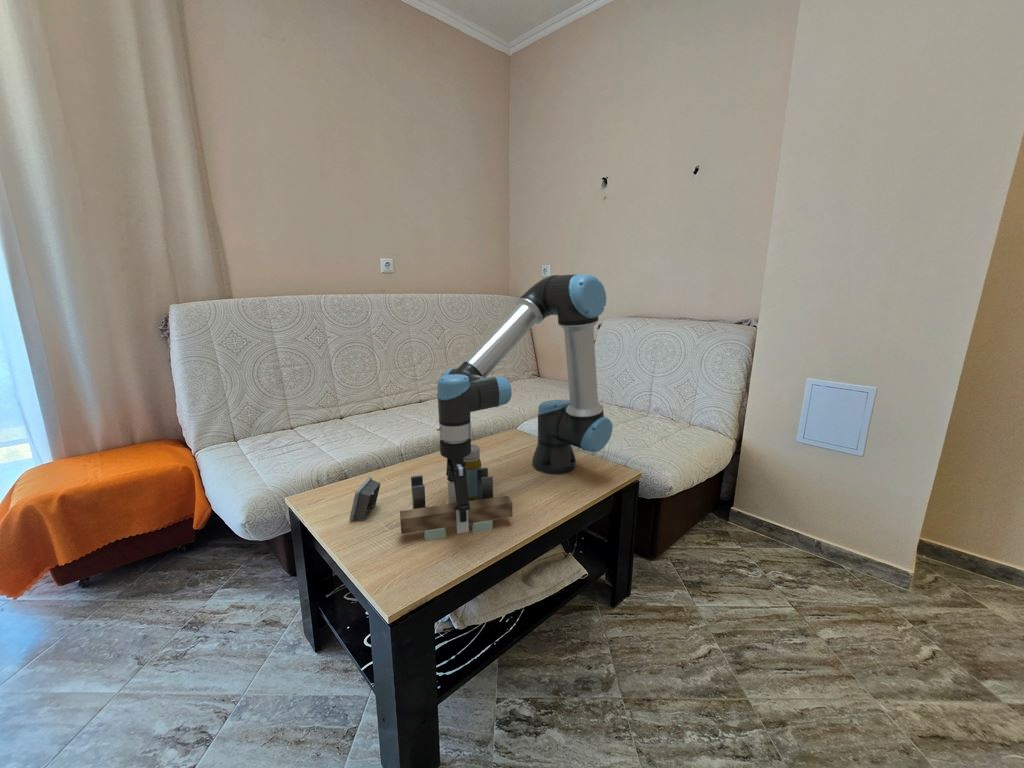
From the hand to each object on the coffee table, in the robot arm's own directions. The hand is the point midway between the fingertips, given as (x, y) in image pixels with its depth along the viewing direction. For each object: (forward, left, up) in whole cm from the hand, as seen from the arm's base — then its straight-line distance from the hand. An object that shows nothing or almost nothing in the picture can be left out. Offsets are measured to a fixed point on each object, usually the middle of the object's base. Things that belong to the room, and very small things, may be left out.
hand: (458, 517), depth 106 cm
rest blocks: (0, 0, -4) cm, 4 cm away
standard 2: (-9, -8, -4) cm, 12 cm away
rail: (0, 0, -1) cm, 1 cm away
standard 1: (+9, -8, -4) cm, 13 cm away
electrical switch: (+23, -15, -4) cm, 28 cm away
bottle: (-6, -17, -4) cm, 19 cm away
